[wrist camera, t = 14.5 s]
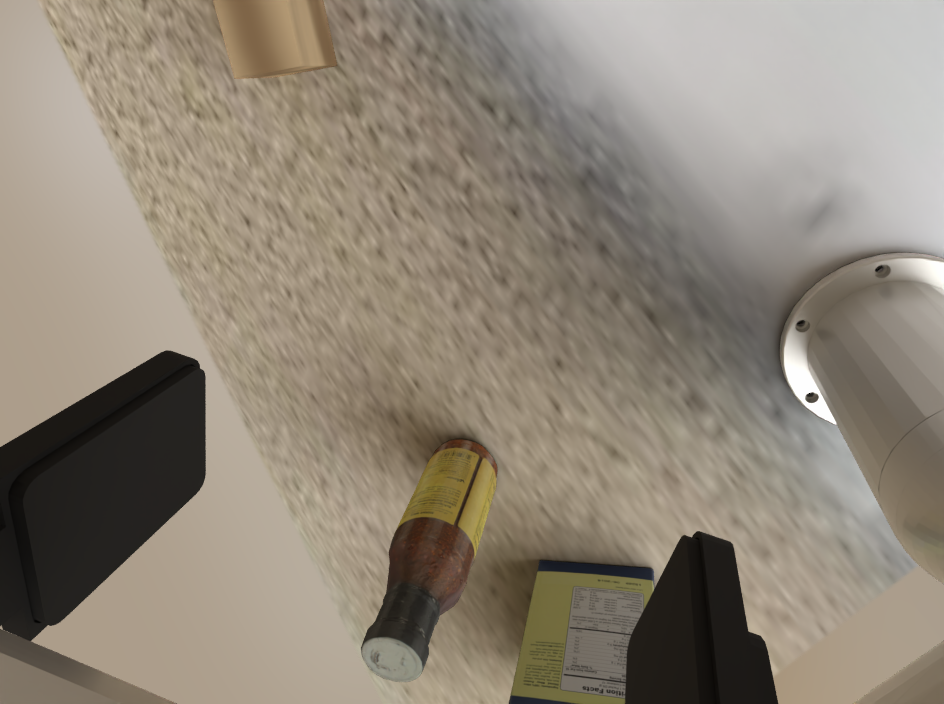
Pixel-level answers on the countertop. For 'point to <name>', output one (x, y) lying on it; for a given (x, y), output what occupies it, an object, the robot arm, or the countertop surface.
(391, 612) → the sauce bottle
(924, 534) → the robot arm
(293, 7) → the oak block
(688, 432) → the countertop surface
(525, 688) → the protein box
